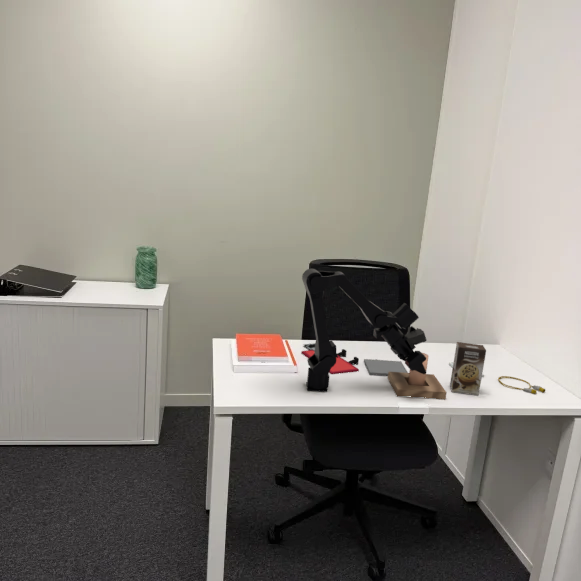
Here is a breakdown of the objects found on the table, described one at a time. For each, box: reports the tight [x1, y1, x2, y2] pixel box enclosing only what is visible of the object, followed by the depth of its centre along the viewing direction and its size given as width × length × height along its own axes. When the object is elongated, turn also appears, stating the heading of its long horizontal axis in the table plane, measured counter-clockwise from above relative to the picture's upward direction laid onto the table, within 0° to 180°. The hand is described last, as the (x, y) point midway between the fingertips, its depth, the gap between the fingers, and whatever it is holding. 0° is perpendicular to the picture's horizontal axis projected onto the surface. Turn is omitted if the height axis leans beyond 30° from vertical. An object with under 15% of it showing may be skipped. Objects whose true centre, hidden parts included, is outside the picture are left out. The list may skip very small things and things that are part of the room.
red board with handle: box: [301, 342, 360, 375], centre depth 231 cm, size 30×3×15 cm
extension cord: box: [497, 375, 546, 395], centre depth 219 cm, size 12×16×2 cm
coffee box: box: [449, 341, 487, 396], centre depth 208 cm, size 9×6×16 cm
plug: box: [408, 352, 430, 386], centre depth 207 cm, size 6×6×12 cm
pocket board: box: [387, 372, 447, 400], centre depth 208 cm, size 16×16×2 cm
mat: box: [363, 358, 409, 377], centre depth 224 cm, size 14×14×1 cm
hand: (422, 370), depth 207 cm, fingers closed on plug, 5 cm apart
